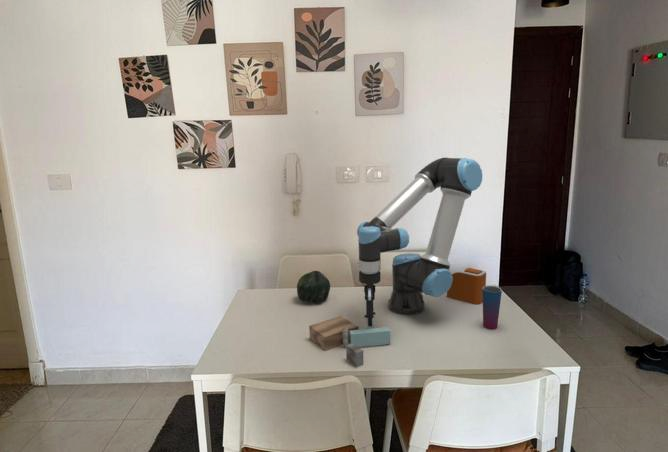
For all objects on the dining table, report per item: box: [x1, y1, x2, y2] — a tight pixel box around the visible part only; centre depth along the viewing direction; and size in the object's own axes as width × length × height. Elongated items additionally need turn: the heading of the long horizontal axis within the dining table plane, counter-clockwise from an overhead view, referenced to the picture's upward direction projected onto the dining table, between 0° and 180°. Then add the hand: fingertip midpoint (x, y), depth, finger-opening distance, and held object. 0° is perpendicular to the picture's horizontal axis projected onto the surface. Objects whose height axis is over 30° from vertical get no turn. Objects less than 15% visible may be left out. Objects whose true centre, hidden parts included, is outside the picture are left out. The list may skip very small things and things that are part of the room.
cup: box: [482, 285, 503, 330], centre depth 161 cm, size 7×7×15 cm
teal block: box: [349, 326, 391, 348], centre depth 151 cm, size 14×3×5 cm, turn 98°
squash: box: [296, 270, 331, 304], centre depth 192 cm, size 14×15×15 cm
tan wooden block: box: [308, 315, 364, 368], centre depth 150 cm, size 26×14×7 cm, turn 33°
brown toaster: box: [446, 267, 487, 305], centre depth 189 cm, size 15×8×14 cm, turn 47°
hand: (370, 332), depth 157 cm, fingers closed
